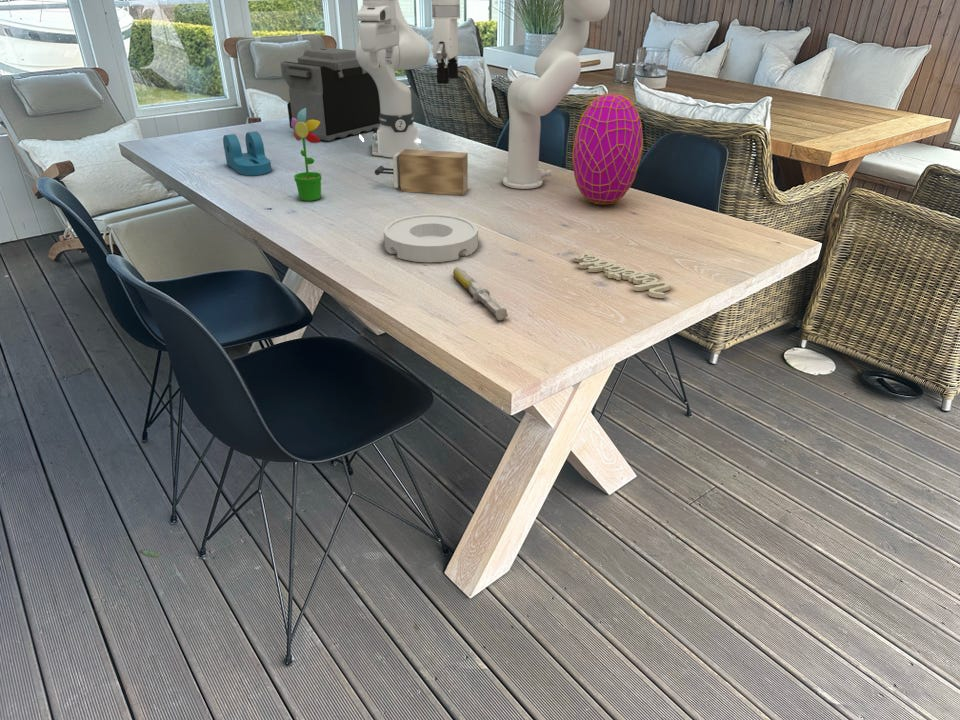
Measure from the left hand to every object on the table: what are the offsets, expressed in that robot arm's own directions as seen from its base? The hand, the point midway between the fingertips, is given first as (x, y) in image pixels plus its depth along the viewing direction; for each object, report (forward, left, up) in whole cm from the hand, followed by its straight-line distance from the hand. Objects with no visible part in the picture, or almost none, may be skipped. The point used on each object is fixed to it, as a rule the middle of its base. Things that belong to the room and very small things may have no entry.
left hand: (382, 66), depth 196 cm
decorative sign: (+84, +35, -35) cm, 98 cm away
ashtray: (+53, -1, -35) cm, 63 cm away
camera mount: (-33, -40, -35) cm, 62 cm away
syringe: (+85, 0, -35) cm, 92 cm away
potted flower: (+5, -25, -35) cm, 43 cm away
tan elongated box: (+8, +12, -35) cm, 38 cm away
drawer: (+5, +7, -34) cm, 35 cm away
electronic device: (-81, -3, -35) cm, 88 cm away
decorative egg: (+35, +55, -35) cm, 74 cm away
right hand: (+12, +16, -3) cm, 20 cm away
